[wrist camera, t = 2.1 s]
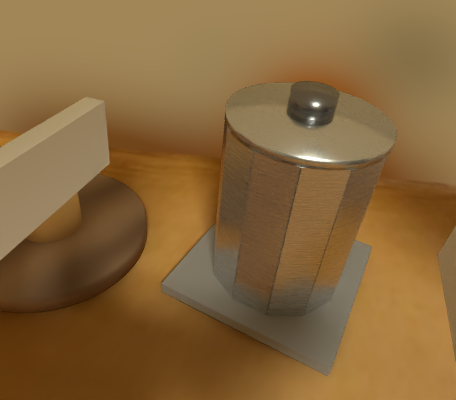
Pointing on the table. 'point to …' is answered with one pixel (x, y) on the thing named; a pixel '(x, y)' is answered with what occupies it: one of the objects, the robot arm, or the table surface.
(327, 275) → the metal canister with knob
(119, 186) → the plate
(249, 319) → the mat
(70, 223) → the pastry
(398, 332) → the table surface
